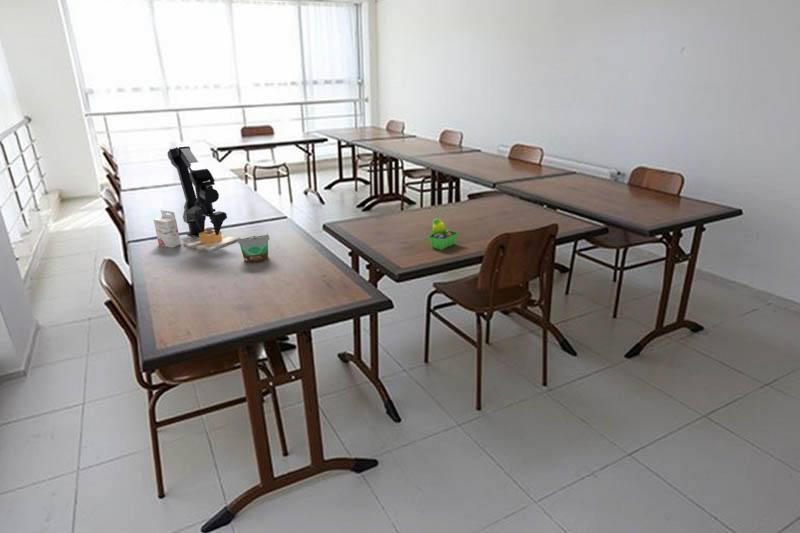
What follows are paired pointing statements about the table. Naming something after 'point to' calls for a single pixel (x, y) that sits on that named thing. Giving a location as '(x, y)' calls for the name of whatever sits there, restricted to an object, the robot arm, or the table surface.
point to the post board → (210, 247)
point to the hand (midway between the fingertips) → (210, 233)
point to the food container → (254, 248)
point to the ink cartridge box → (167, 229)
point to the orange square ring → (210, 237)
